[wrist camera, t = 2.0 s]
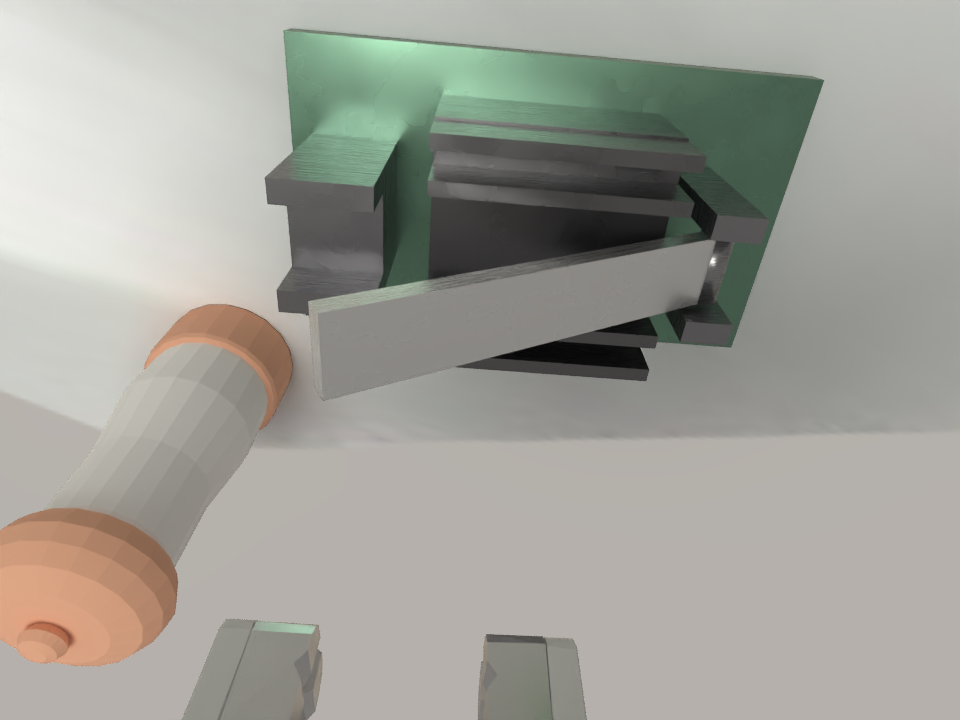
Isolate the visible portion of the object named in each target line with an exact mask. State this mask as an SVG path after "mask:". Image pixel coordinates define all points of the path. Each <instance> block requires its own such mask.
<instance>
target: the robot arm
mask: <svg viewBox="0 0 960 720" xmlns="http://www.w3.org/2000/svg"><path fill="white" fill-rule="evenodd" d="M319 640H320V631H319V625H313V624H297V623H281V622H265V621H258V620H240V619H226V620H225V622H224V623H223V624H222V626H221V627H220V629H219V631H218V633H217V635H216V638H215V640H214V643H213V645H212V648H211V650H210V652H209V655H208V657H207V660H206V662H205V665H204V667H203V669H202V672H201V674H200V677H199V679H198V682H197V684H196V686H195V689H194V691H193V694H192V696H191V699H190V701H189V704H188V706H187V708H186V711H185V713H184V716H183V718H182V720H307V719H308V718H309V717H310V716H311V715H312V714H313V713H314V712H315V710H316V705H317V700H318V695H319V690H320V684H321V677H322V652H320V651H319V650H318V649H317V648H318V644H319ZM478 720H587V718H586V711H585V703H584V696H583V688H582V681H581V674H580V666H579V659H578V652H577V646H576V644H575V642H574V640H573V639H568V638H567V639H566V638H546V637H542V636H516V635H492V634H487V635H486V636H485V641H484V660H483V661H482V662H481V670H480V682H479V699H478Z"/></svg>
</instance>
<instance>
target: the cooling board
mask: <svg viewBox="0 0 960 720" xmlns="http://www.w3.org/2000/svg"><path fill="white" fill-rule="evenodd" d="M284 43H285V56H286V68H287V81H288V94H289V107H290V119H291V132H292V145H293V152H292V153H291V154H290V155H289V156H288V157H287V158H286V159H284V160H283V161H282V162H281V163H280V164H279V165H278V166H277V167H276V168H275V169H274V170H273V171H272V172H270V173H269V174H268V175H267V176H266V177H265V183H266V193H267V202H268V204H273V205H285V206H287V211H288V222H289V234H290V245H291V257H292V268H291V269H290V271H289V272H288V274H287V275H286V277H285V278H284V280H283V281H282V283H281V284H280V286H279V287H278V289H277V298H278V308H279V312H288V313H301V314H306V315H309V306H308V301H312V300H318V299H323V298H329V297H335V296H340V295H346V294H352V293H357V292H363V291H368V290H374V289H380V288H385V287H391V286H397V285H402V284H408V283H414V282H419V281H425V280H431V279H436V278H442V277H448V276H453V275H459V274H464V273H470V272H476V271H481V270H487V269H493V268H498V267H504V266H510V265H515V264H521V263H527V262H532V261H538V260H544V259H549V258H555V257H560V256H566V255H572V254H577V253H583V252H589V251H594V250H600V249H606V248H611V247H617V246H623V245H628V244H634V243H640V242H645V241H651V240H657V239H662V238H668V237H673V236H679V235H685V234H690V233H696V232H701V230H702V231H703V232H704V233H705V234H706V236H707V237H708V238H709V239H710V240H713V241H725V242H734V245H733V249H732V252H731V255H730V258H729V261H728V264H727V267H726V271H725V274H724V277H723V280H722V283H721V286H720V289H719V293H718V296H717V299H716V302H715V303H714V304H712V305H699V304H696V305H692V306H688V307H684V308H680V309H676V310H673V311H669V312H665V313H661V314H657V315H653V316H649V317H645V318H642V319H638V320H634V321H630V322H626V323H622V324H618V325H615V326H611V327H607V328H603V329H599V330H595V331H591V332H587V333H584V334H580V335H576V336H572V337H568V338H564V339H560V340H557V341H553V342H549V343H545V344H541V345H537V346H533V347H529V348H526V349H522V350H518V351H514V352H510V353H506V354H502V355H499V356H495V357H491V358H487V359H483V360H479V361H475V362H471V363H468V364H464V365H460V366H456V367H461V368H474V369H488V370H501V371H515V372H529V373H542V374H556V375H569V376H583V377H597V378H610V379H624V380H638V381H646V380H647V376H648V372H649V368H648V366H647V363H646V361H645V358H644V356H643V353H642V351H641V349H640V347H642V348H655V347H656V343H657V342H666V343H680V344H693V345H706V346H719V347H731V346H732V343H733V340H734V338H735V335H736V332H737V329H738V326H739V323H740V320H741V317H742V315H743V312H744V309H745V306H746V303H747V300H748V297H749V294H750V292H751V289H752V286H753V283H754V280H755V277H756V274H757V271H758V269H759V266H760V263H761V260H762V257H763V254H764V251H765V248H766V246H767V243H768V240H769V237H770V234H771V231H772V228H773V226H774V223H775V220H776V217H777V214H778V211H779V208H780V205H781V203H782V200H783V197H784V194H785V191H786V188H787V185H788V182H789V180H790V177H791V174H792V171H793V168H794V165H795V162H796V159H797V157H798V154H799V151H800V148H801V145H802V142H803V139H804V136H805V134H806V131H807V128H808V125H809V122H810V119H811V116H812V114H813V111H814V108H815V105H816V102H817V99H818V96H819V93H820V91H821V88H822V85H823V82H824V80H822V79H819V78H816V77H813V76H803V75H792V74H781V73H770V72H759V71H748V70H737V69H727V68H716V67H705V66H694V65H683V64H672V63H661V62H650V61H639V60H629V59H618V58H607V57H596V56H585V55H574V54H563V53H552V52H541V51H530V50H520V49H509V48H498V47H487V46H476V45H465V44H454V43H443V42H432V41H422V40H411V39H400V38H389V37H378V36H367V35H356V34H345V33H334V32H323V31H313V30H302V29H288V30H284Z"/></svg>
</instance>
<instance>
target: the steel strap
mask: <svg viewBox="0 0 960 720" xmlns="http://www.w3.org/2000/svg"><path fill="white" fill-rule="evenodd" d="M733 245H734V242H725V241H713V240H710V239H709V238H708V237H707V236H706V234H705V233H704V232H703V231H702V230H701V232H696V233H690V234H685V235H679V236H673V237H668V238H662V239H657V240H651V241H645V242H640V243H634V244H628V245H623V246H617V247H611V248H606V249H600V250H594V251H589V252H583V253H577V254H572V255H566V256H560V257H555V258H549V259H544V260H538V261H532V262H527V263H521V264H515V265H510V266H504V267H498V268H493V269H487V270H481V271H476V272H470V273H464V274H459V275H453V276H448V277H442V278H436V279H431V280H425V281H419V282H414V283H408V284H402V285H397V286H391V287H385V288H380V289H374V290H368V291H363V292H357V293H352V294H346V295H340V296H335V297H329V298H323V299H318V300H312V301H308V306H309V319H310V332H311V346H312V359H313V372H314V386H315V388H316V390H317V392H318V393H319V395H320V396H321V398H322V399H323V401H325V400H328V399H332V398H336V397H340V396H344V395H348V394H352V393H356V392H359V391H363V390H367V389H371V388H375V387H379V386H383V385H386V384H390V383H394V382H398V381H402V380H406V379H410V378H414V377H417V376H421V375H425V374H429V373H433V372H437V371H441V370H444V369H448V368H452V367H456V366H460V365H464V364H468V363H471V362H475V361H479V360H483V359H487V358H491V357H495V356H499V355H502V354H506V353H510V352H514V351H518V350H522V349H526V348H529V347H533V346H537V345H541V344H545V343H549V342H553V341H557V340H560V339H564V338H568V337H572V336H576V335H580V334H584V333H587V332H591V331H595V330H599V329H603V328H607V327H611V326H615V325H618V324H622V323H626V322H630V321H634V320H638V319H642V318H645V317H649V316H653V315H657V314H661V313H665V312H669V311H673V310H676V309H680V308H684V307H688V306H692V305H696V304H699V305H712V304H714V303H715V302H716V299H717V296H718V293H719V289H720V286H721V283H722V280H723V277H724V274H725V271H726V267H727V264H728V261H729V258H730V255H731V252H732V249H733Z"/></svg>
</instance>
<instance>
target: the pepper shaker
mask: <svg viewBox="0 0 960 720" xmlns="http://www.w3.org/2000/svg"><path fill="white" fill-rule="evenodd" d="M292 368H293V365H292V360H291V355H290V350H289V348H288V347H287V345H286V343H285V341H284V340H283V338H282V336H281V335H280V333H278V332H277V331H276V330H275V329H274V328H273V327H272V326H271V325H270V324H269V323H268V322H267V321H266V320H264V319H262V318H261V317H259V316H257V315H255V314H253V313H252V312H250V311H248V310H245V309H241V308H237V307H234V306H230V305H206V306H203V307H200V308H197V309H194V310H191V311H189V312H188V313H187V314H186V315H184V316H183V317H182V318H181V319H179V320H178V321H177V322H176V323H175V324H174V326H173V327H172V328H171V329H170V330H169V331H168V332H167V333H166V335H165V336H164V337H163V338H162V339H161V340H160V341H159V342H158V344H157V345H156V346H155V347H154V348H153V349H152V351H151V353H150V355H149V357H148V359H147V361H146V363H145V368H144V371H143V372H142V373H141V374H140V375H139V376H138V377H137V378H136V380H135V381H134V382H133V383H132V384H131V385H130V386H129V387H128V388H127V389H126V390H125V391H124V392H123V394H122V396H121V397H120V399H119V401H118V403H117V405H116V407H115V409H114V410H113V412H112V414H111V416H110V418H109V420H108V422H107V423H106V425H105V427H104V429H103V431H102V433H101V435H100V436H99V438H98V440H97V442H96V444H95V446H94V448H93V450H92V451H91V452H90V453H89V455H88V456H87V457H86V458H85V460H84V461H83V462H82V463H81V465H80V466H79V467H78V468H77V470H76V471H75V472H74V473H73V475H72V476H71V477H70V478H69V479H68V481H67V482H66V483H65V484H64V486H63V487H62V488H61V489H60V491H59V492H58V493H57V494H56V496H55V497H54V498H53V499H52V500H51V502H50V503H49V504H48V505H47V507H46V508H45V509H44V510H43V511H40V512H36V513H32V514H29V515H27V516H24V517H22V518H20V519H17V520H16V521H14V522H13V523H11V524H9V525H8V526H6V527H4V528H3V529H2V530H0V639H1V640H2V641H4V642H5V643H7V644H9V645H10V646H12V647H14V648H16V649H17V651H18V652H19V654H20V655H21V656H23V657H24V658H26V659H28V660H30V661H32V662H37V663H51V662H56V663H61V664H68V665H73V666H101V665H106V664H111V663H115V662H119V661H121V660H123V659H125V658H127V657H129V656H130V655H132V654H134V653H136V652H137V651H139V650H140V649H142V648H144V647H145V646H147V645H149V644H150V643H152V642H153V641H154V640H155V639H156V637H157V636H158V635H159V634H160V633H161V632H162V631H163V629H164V628H165V627H166V625H167V624H168V623H169V621H170V620H171V619H172V617H173V616H174V614H175V609H176V600H177V588H178V579H177V573H176V570H175V566H176V564H177V562H178V560H179V558H180V556H181V555H182V553H183V551H184V549H185V547H186V545H187V543H188V542H189V540H190V538H191V536H192V534H193V532H194V530H195V529H196V527H197V525H198V523H199V521H200V519H201V517H202V515H203V514H204V512H205V510H206V508H207V507H208V506H209V504H210V503H211V502H212V501H213V499H214V498H215V497H216V495H217V494H218V493H219V492H220V490H221V489H222V488H223V486H224V485H225V484H226V483H227V482H228V480H229V479H230V478H231V476H232V475H233V474H234V473H235V471H236V470H237V469H238V468H239V466H240V465H241V463H242V462H243V461H244V459H245V458H246V456H247V455H248V453H249V450H250V448H251V446H252V444H253V442H254V439H255V437H256V435H257V433H258V431H259V430H260V429H262V428H263V427H265V426H266V425H267V424H268V422H269V421H270V419H271V418H272V416H273V415H274V413H275V411H276V409H277V407H278V405H279V403H280V401H281V399H282V397H283V395H284V392H285V390H286V388H287V386H288V384H289V382H290V379H291V373H292Z"/></svg>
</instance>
